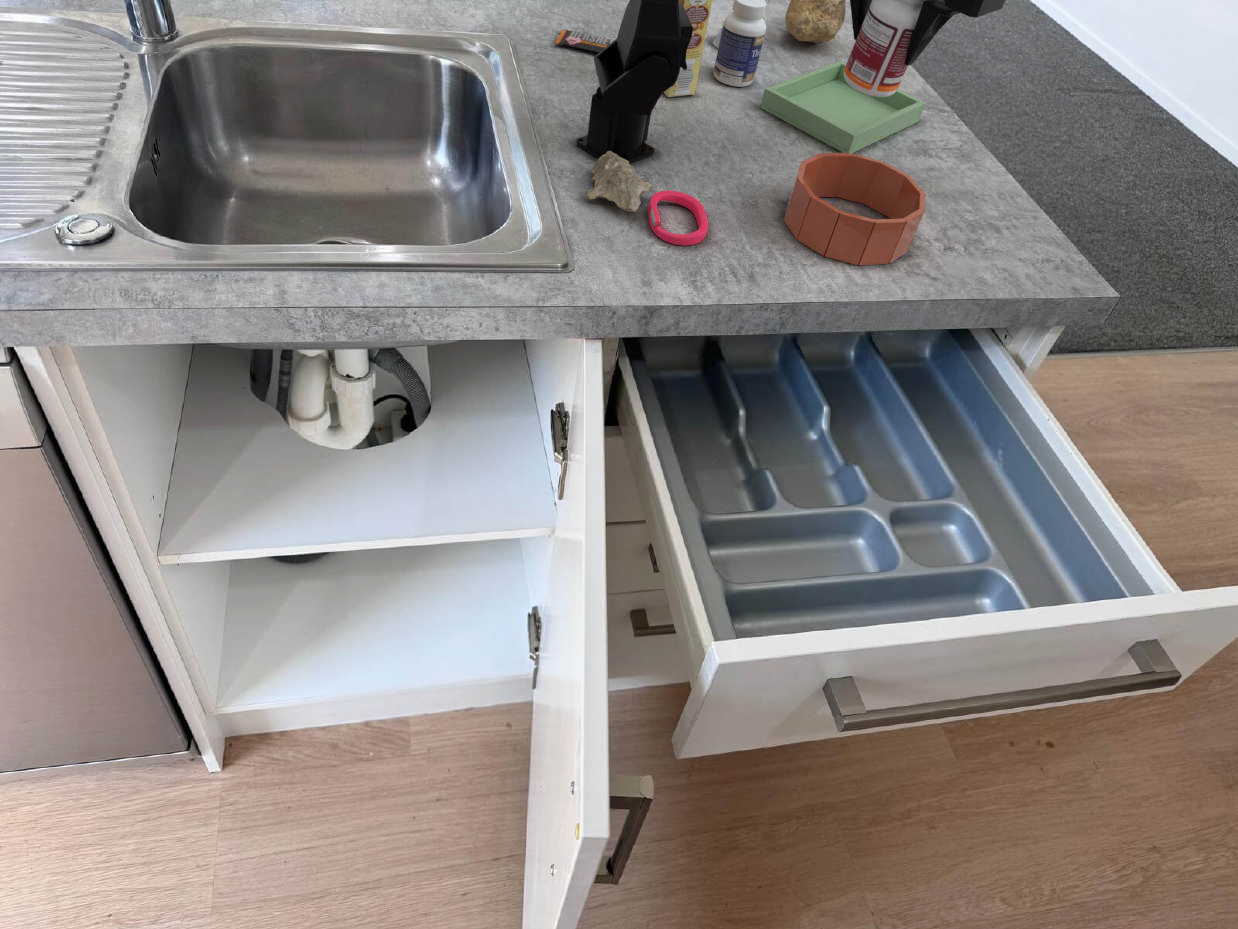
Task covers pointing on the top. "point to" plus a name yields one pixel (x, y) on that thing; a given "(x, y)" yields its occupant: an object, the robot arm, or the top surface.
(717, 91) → the top surface
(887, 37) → the pill bottle
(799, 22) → the tan rock
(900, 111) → the tray
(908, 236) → the segmented terracotta ring
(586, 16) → the top surface
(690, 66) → the candy box
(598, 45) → the chocolate bar
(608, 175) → the artifact
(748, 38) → the pill bottle
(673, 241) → the fitness band
